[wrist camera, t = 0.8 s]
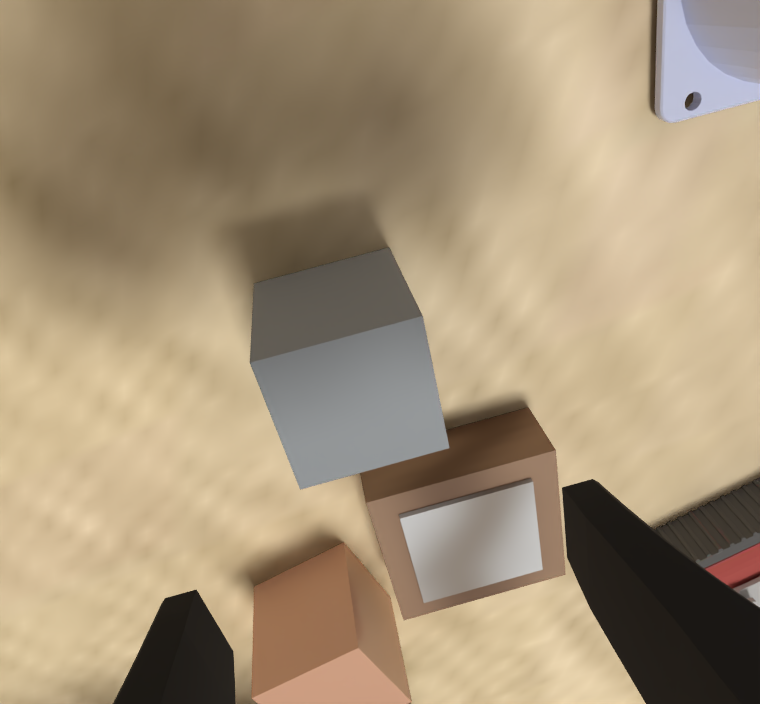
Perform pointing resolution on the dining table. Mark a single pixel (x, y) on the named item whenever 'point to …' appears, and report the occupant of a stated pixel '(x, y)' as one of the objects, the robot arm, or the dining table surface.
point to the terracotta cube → (326, 636)
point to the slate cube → (346, 368)
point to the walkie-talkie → (724, 539)
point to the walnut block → (469, 515)
